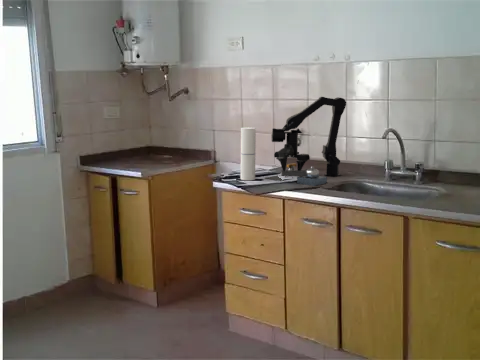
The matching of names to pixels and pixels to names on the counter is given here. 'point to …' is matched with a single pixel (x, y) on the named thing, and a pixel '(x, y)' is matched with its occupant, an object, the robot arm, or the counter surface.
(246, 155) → the cylindrical container
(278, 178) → the rubber pad
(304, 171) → the chuck collar
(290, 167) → the chuck key
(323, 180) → the chuck base
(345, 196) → the counter surface
